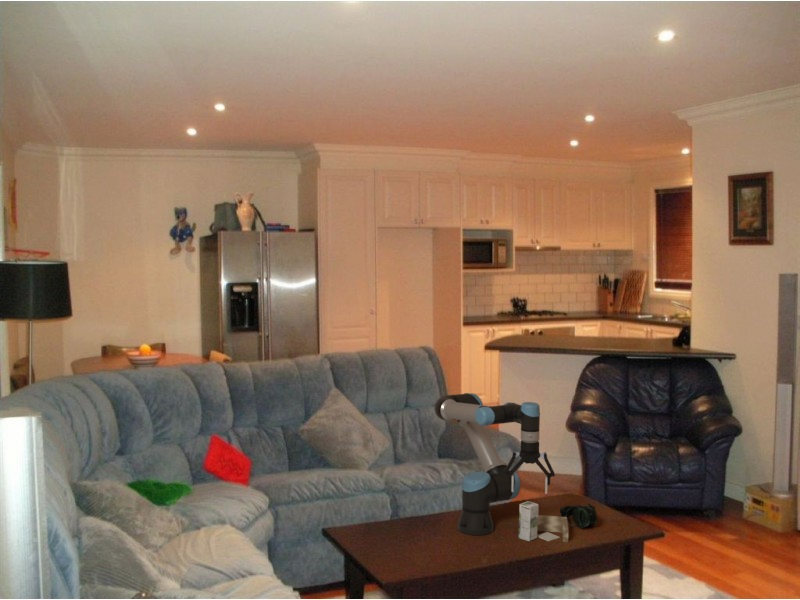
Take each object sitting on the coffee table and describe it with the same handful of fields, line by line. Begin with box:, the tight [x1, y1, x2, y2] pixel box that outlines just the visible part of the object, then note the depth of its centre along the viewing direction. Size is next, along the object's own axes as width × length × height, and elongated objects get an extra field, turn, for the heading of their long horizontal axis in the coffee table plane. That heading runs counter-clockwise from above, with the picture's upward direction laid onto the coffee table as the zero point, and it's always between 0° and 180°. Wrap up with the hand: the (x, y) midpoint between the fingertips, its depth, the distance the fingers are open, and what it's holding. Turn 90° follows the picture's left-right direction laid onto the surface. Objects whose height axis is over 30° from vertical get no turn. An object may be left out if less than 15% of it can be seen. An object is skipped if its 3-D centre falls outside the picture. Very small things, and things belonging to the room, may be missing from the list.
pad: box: [537, 531, 561, 542], centre depth 308 cm, size 7×7×1 cm
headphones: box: [559, 503, 598, 529], centre depth 325 cm, size 13×13×20 cm
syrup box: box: [517, 500, 540, 542], centre depth 306 cm, size 6×6×14 cm
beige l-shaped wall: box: [538, 514, 569, 543], centre depth 310 cm, size 18×13×6 cm
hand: (529, 491), depth 305 cm, fingers open, 13 cm apart
